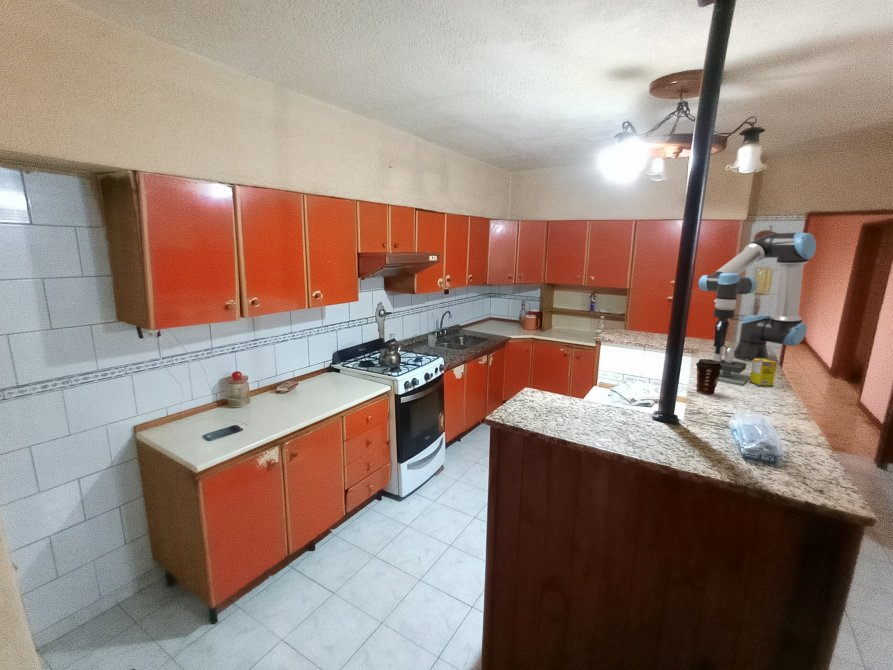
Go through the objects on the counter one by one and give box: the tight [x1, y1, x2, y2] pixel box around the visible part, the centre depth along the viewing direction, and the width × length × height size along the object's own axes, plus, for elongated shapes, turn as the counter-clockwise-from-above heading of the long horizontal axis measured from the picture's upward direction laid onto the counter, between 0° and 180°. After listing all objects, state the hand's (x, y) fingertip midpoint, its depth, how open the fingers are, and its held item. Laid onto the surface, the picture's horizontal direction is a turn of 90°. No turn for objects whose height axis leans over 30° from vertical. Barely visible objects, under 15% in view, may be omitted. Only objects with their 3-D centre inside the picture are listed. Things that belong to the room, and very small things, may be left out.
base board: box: [718, 370, 751, 387], centre depth 187 cm, size 16×16×1 cm
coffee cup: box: [695, 358, 722, 396], centre depth 166 cm, size 9×8×13 cm
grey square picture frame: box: [718, 358, 747, 374], centre depth 186 cm, size 11×11×2 cm
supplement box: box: [748, 358, 778, 388], centre depth 177 cm, size 6×6×11 cm
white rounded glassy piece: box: [720, 346, 736, 377], centre depth 186 cm, size 4×4×13 cm
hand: (717, 360), depth 189 cm, fingers closed
